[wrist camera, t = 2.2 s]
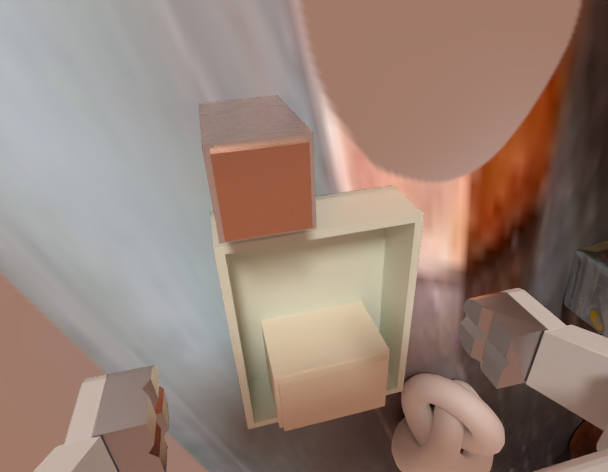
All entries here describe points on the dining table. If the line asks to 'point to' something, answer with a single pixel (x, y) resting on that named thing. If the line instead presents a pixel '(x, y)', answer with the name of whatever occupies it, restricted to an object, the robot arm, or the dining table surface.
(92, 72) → the dining table surface
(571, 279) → the beverage carton
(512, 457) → the dining table surface
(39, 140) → the dining table surface
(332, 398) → the beige rectangular block
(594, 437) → the brown bucket
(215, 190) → the copper capped metal stub
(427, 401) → the pretzel
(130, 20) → the dining table surface
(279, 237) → the tote
